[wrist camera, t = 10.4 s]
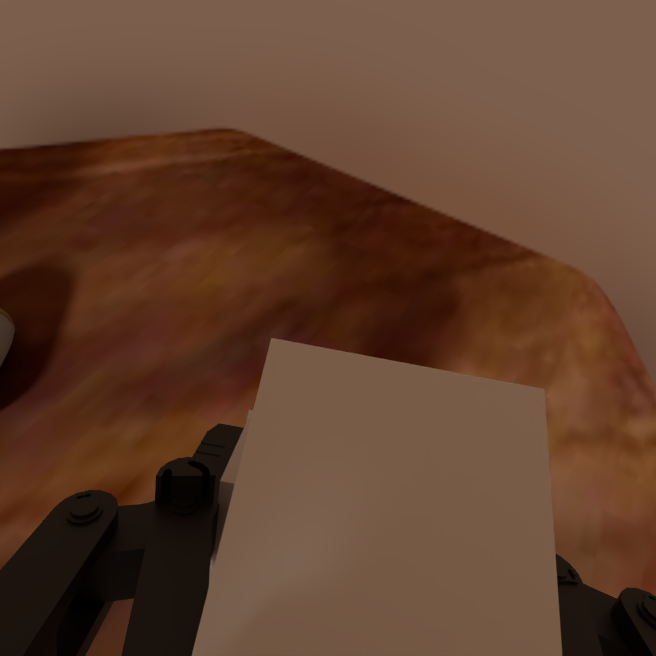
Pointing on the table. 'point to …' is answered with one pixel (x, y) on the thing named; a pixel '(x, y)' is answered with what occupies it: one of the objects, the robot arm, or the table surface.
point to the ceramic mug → (5, 334)
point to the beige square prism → (386, 516)
